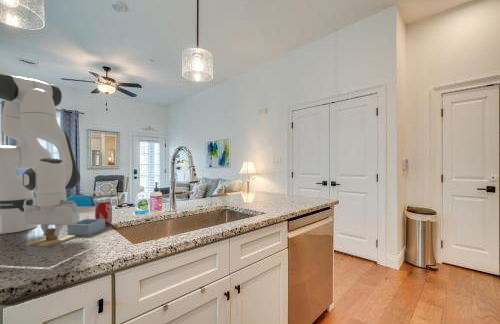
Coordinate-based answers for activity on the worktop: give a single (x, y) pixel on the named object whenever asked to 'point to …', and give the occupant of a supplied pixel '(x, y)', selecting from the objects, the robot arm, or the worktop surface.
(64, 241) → the mat
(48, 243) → the lid
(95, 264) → the worktop surface
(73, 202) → the robot arm
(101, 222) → the dish
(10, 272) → the worktop surface
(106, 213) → the soda can
